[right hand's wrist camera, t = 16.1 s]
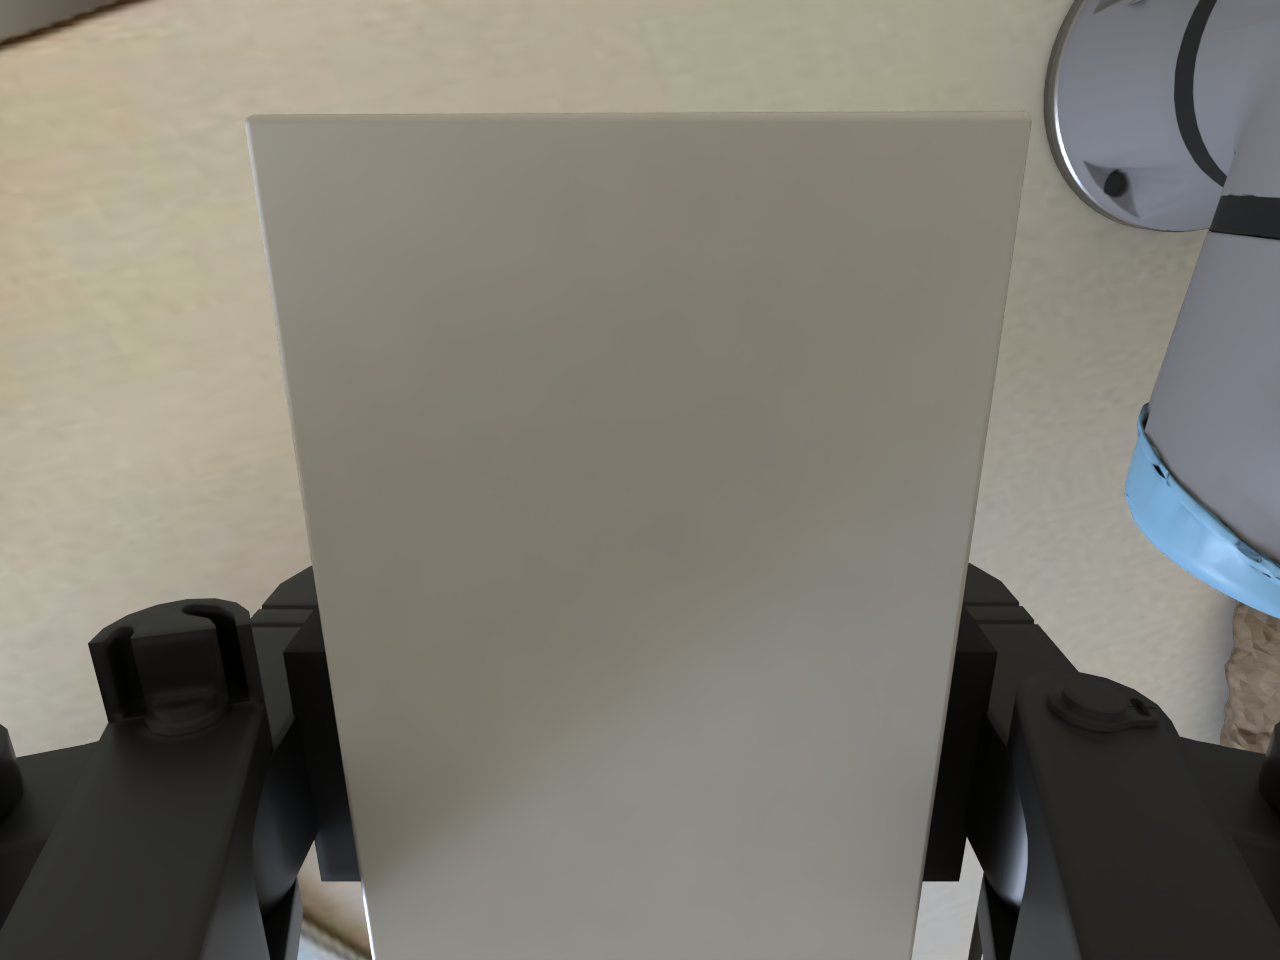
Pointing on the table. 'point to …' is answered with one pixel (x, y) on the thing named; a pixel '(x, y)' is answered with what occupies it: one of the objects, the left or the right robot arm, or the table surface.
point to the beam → (640, 509)
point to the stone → (1252, 681)
